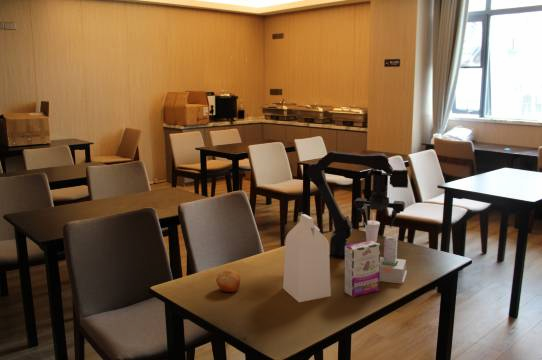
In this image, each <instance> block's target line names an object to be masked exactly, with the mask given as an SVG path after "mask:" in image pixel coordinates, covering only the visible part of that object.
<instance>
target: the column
mask: <svg viewBox="0 0 542 360" xmlns="http://www.w3.org/2000/svg"><path fill="white" fill-rule="evenodd" d="M398 241H399V240H398V237H396V236H385V237H384V241H383V242H384V244H383V247H384V248H383V257H384V261H383V264H384V265H391V266H396V263H397V259H398Z"/></svg>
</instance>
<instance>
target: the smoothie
mask: <svg viewBox="0 0 542 360" xmlns="http://www.w3.org/2000/svg"><path fill="white" fill-rule="evenodd" d="M372 213H373V214H372V220H368V223H367V225H366V224H365V223H363V224H364V226H365V238H366V241H374V242H376V243H377V241H378V233H379V229H380V226H381V225H380V224H381V222H380V221H378V220H375V214H376V213H375V212H372Z"/></svg>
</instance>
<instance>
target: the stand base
mask: <svg viewBox="0 0 542 360" xmlns="http://www.w3.org/2000/svg"><path fill="white" fill-rule="evenodd" d="M383 261H384V256H383V257H382V256H380V278H379V282H386V283H393V284H394V283H395V284H401V285H404V284H405V282H406V281H405V280H406V278H407V274H408V270H406V269H407V266H406V265H407V259H402V258H397V263H396V266H391V265H384V264H383Z"/></svg>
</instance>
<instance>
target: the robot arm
mask: <svg viewBox="0 0 542 360" xmlns="http://www.w3.org/2000/svg"><path fill="white" fill-rule="evenodd" d="M333 163H339V164H348V165H349V164H350V165H359V166H365V167H366V168H370V170H369V171H368V172H367V176H372V180H371V181H372V185H371V186H372V188H371V196H370V200H369V201H368V199H367V198H361V197H357V198H356V199H355V200H354V202H353V209H357V211H359V212H360V213H361V215H362V216H363V220H364V221H363V222H364V224H366V225H367V223H368V221H369V217H368V207H369V210H371V211H375V210H376V211H379V212H380V211H383V210H384V208H386V209H387V208H388V209H392V211H391V216H390V217H391V218H390V223H389V228H391V229H392V227H393V224H394V221H395V219H396V216H397V214H400V213H401V212H404V211H405V209H406V203H405V201H403V200H394V201H393V202H390V197H388V190H389V189H388V185H390V186H392V188H401V189H402V188H403V189H408V187H409V176H408V175H409V174H408V173H409V171H408V169H394V167H393V166H392V165H391V164H390V162H389V156H387V155H386V153H382V152H377V153H375V152H374V153H368V154H360V153H350V152H342V151H335V150H330V151H328V152H327V154H325V155H324V156H323V157H321V158H320V159H319V160H318V161H313V162H311V163H310V164H309V165H308V166H307V167H306V176H307V177H308V178H309V179H310V181H311V183H313V185H315V186H316V188H317V190H318V192H319V193H320V195H321V198H322V200H323V202H324V204H325V206H326V208H327V210H328V212H329V214H330V217H331V218H332V223H333V226H334V227H333V228H334V230H333V231H332V233H331V237H330V239H329V258H335V259H342V260H343V259H344V260H345V246H347V245H349V243H348V239H349V238H350V237H351V235H352V231H353V223H352V222H351V219H350V217H349V215H346V216H345V215H344V214H343V213H342V211H341V209H340V207H339V205H338V203H337V201H336V199H335V197H334V195H333V192H332V190H331V189H330V186H329V184H328V182H327V178H326V177H327V175H326V173H325V169H326V168H328V167H329V166H330V165H331V164H333ZM388 183H389V184H388Z"/></svg>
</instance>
